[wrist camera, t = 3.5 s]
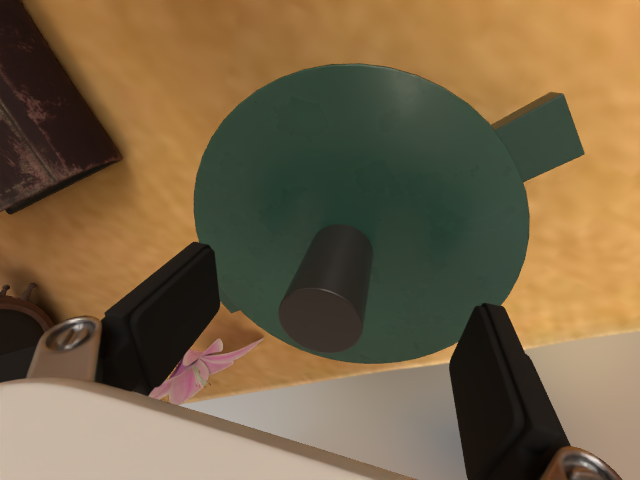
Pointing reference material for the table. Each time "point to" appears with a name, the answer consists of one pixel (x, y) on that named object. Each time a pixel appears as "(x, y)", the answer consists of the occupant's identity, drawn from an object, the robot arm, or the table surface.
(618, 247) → the table surface
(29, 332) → the alarm clock
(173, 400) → the lily
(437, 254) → the pot lid
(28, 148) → the diary
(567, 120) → the pot
